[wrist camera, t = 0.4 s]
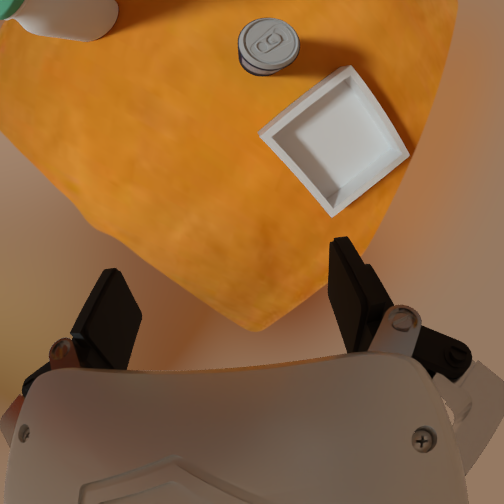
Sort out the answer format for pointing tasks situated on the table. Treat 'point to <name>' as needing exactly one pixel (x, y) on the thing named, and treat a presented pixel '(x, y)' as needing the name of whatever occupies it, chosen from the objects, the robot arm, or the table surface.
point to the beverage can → (267, 46)
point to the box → (336, 139)
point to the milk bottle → (62, 17)
